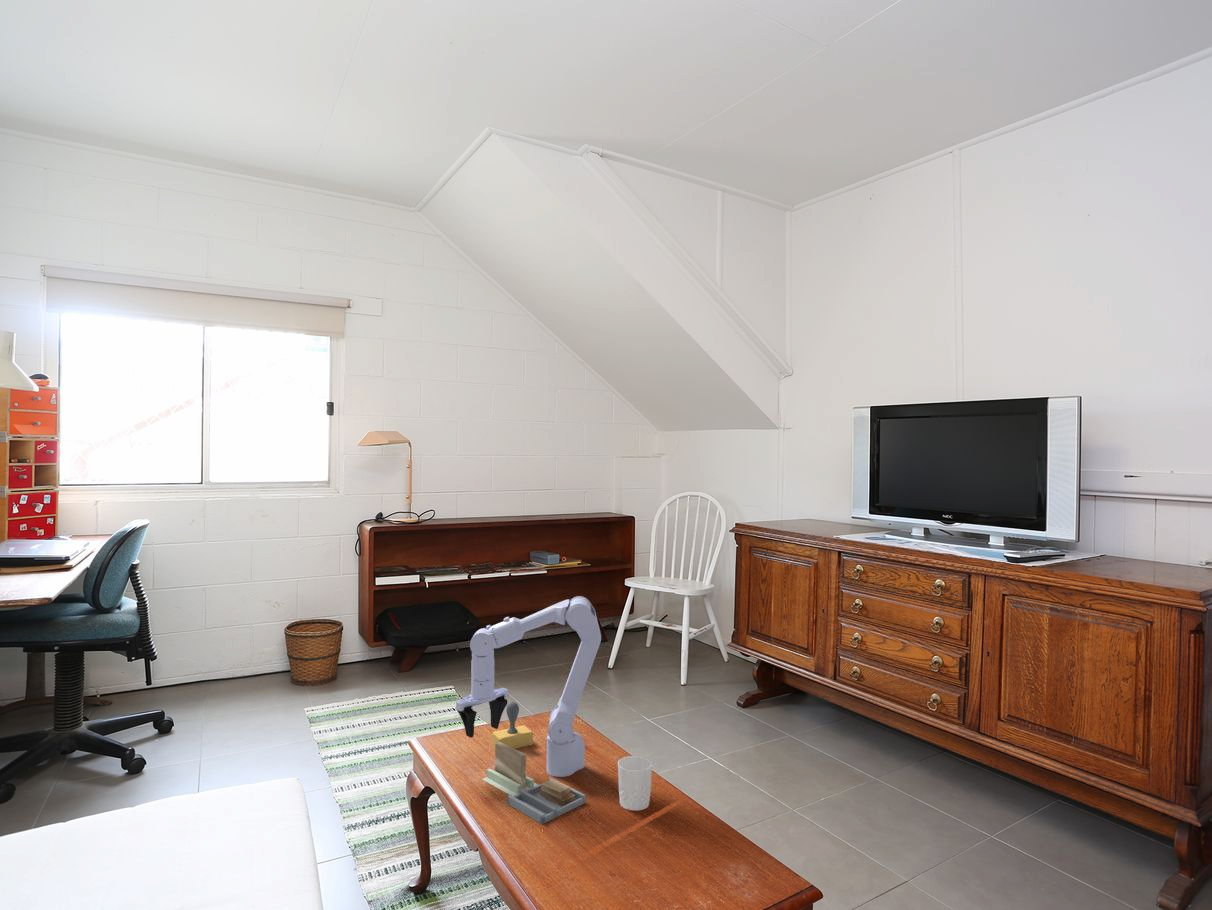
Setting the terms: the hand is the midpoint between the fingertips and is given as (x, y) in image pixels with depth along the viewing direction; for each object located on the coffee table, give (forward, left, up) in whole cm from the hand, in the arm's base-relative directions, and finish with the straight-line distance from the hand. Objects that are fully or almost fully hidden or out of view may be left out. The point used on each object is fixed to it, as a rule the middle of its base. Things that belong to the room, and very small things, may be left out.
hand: (482, 731), depth 179 cm
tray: (0, +24, -10) cm, 26 cm away
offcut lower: (-4, +24, -10) cm, 26 cm away
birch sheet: (-1, +10, -10) cm, 14 cm away
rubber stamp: (-16, -8, -11) cm, 21 cm away
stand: (-1, +10, -10) cm, 14 cm away
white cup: (-15, +38, -11) cm, 42 cm away
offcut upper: (-4, +24, -8) cm, 25 cm away
